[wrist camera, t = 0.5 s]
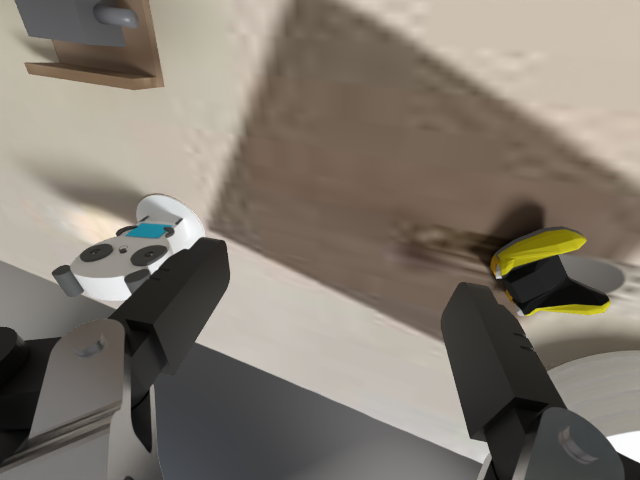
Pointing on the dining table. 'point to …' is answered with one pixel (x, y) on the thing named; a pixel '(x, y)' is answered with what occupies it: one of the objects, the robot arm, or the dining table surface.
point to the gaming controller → (545, 274)
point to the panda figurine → (132, 251)
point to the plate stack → (605, 395)
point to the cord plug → (77, 20)
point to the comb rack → (111, 57)
